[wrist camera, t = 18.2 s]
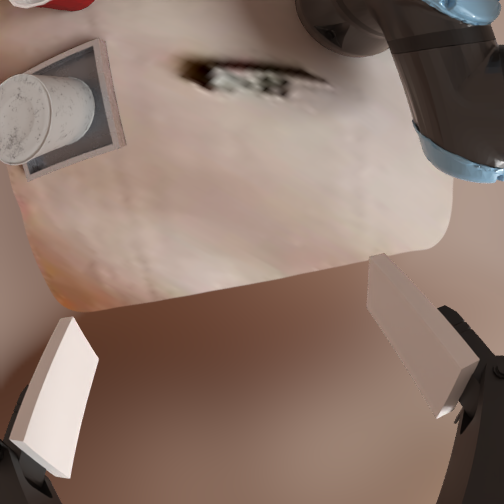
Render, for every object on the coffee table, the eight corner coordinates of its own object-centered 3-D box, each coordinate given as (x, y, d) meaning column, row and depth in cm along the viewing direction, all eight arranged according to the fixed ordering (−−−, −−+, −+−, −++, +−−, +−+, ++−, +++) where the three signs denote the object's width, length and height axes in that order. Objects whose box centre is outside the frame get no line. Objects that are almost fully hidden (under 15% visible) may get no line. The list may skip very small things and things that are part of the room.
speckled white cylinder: (25, 113, 31) (-28, 124, 20) (69, 63, 30) (22, 55, 19) (61, 159, 35) (15, 184, 25) (108, 110, 34) (69, 117, 23)
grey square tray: (105, 41, 30) (98, 37, 27) (126, 144, 37) (120, 148, 34) (16, 83, 29) (5, 83, 26) (37, 176, 36) (27, 181, 34)
